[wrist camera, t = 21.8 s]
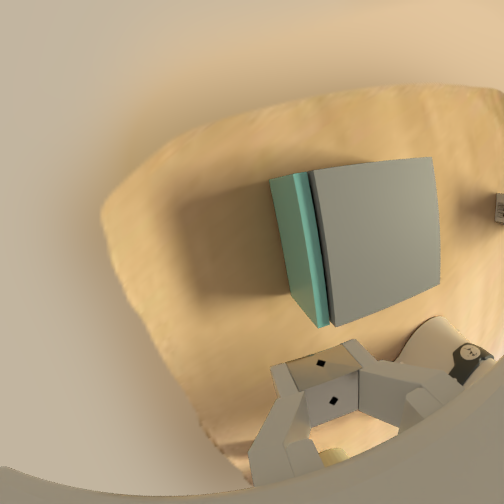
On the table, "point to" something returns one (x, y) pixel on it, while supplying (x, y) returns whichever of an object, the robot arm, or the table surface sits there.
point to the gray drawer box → (376, 234)
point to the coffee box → (499, 209)
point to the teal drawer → (301, 244)
